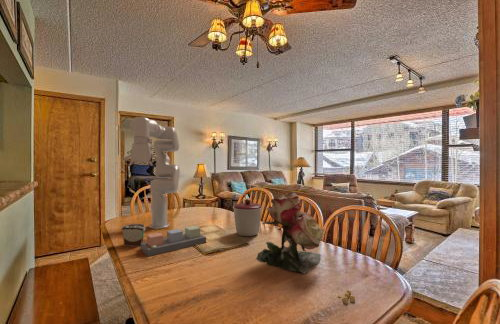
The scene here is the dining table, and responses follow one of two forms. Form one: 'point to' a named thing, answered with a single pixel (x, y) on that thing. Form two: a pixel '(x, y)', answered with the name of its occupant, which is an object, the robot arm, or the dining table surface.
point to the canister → (247, 218)
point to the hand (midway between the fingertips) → (141, 173)
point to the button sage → (192, 232)
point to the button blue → (174, 235)
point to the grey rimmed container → (133, 234)
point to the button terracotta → (154, 239)
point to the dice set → (345, 299)
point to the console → (171, 245)
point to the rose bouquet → (292, 236)
